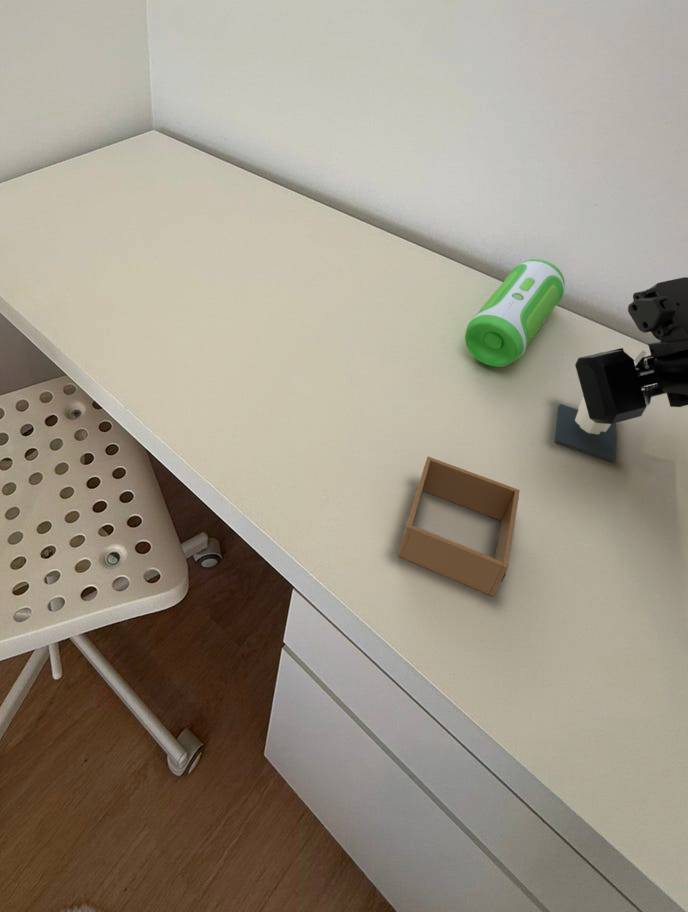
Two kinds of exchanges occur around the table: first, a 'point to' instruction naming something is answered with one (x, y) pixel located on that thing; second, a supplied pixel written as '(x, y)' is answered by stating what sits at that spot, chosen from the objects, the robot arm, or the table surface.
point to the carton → (449, 554)
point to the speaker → (515, 313)
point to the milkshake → (583, 416)
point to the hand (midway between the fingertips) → (604, 372)
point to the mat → (584, 436)
